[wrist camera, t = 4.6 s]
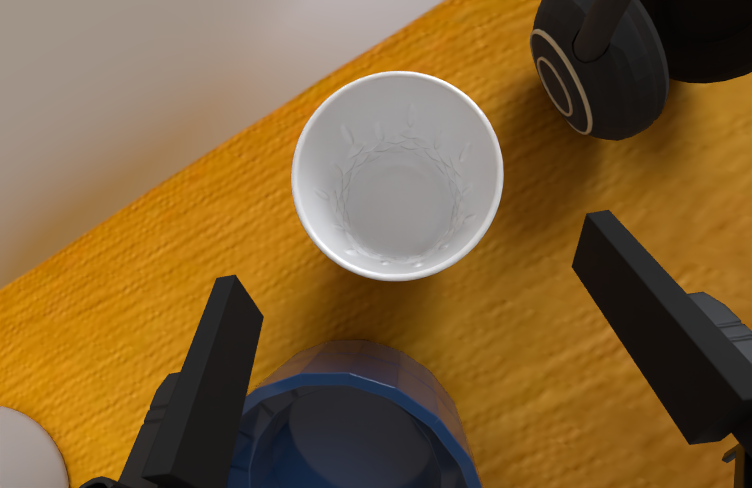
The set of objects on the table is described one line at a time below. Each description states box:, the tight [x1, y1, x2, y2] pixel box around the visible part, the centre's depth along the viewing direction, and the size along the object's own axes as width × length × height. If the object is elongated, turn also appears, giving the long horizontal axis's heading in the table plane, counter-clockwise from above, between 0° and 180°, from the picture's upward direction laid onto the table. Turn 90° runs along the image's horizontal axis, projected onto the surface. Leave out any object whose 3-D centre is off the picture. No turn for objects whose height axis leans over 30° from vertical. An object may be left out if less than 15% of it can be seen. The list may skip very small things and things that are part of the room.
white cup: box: [291, 71, 503, 281], centre depth 18 cm, size 8×8×10 cm
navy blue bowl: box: [226, 340, 483, 488], centre depth 19 cm, size 14×14×7 cm
